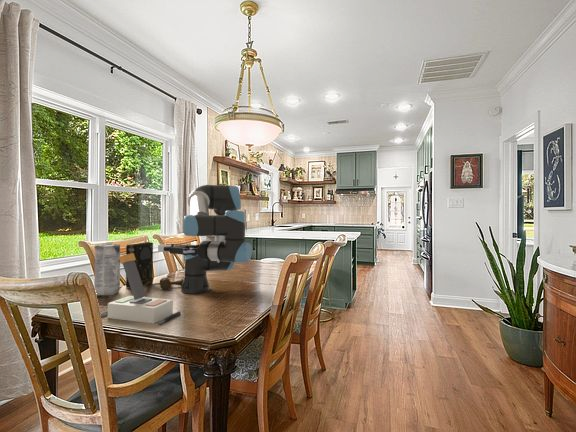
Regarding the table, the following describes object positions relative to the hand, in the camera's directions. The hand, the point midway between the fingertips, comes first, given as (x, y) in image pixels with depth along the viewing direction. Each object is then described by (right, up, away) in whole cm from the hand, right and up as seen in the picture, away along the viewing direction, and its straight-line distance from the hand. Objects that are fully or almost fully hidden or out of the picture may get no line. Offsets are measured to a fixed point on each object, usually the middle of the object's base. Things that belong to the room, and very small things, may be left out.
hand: (159, 248), depth 126 cm
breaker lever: (-9, -22, +4) cm, 24 cm away
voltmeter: (-34, -28, +56) cm, 71 cm away
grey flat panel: (-9, -29, +4) cm, 30 cm away
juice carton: (-43, -28, +38) cm, 64 cm away
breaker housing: (-9, -29, +4) cm, 30 cm away
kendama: (-15, -29, +53) cm, 62 cm away
